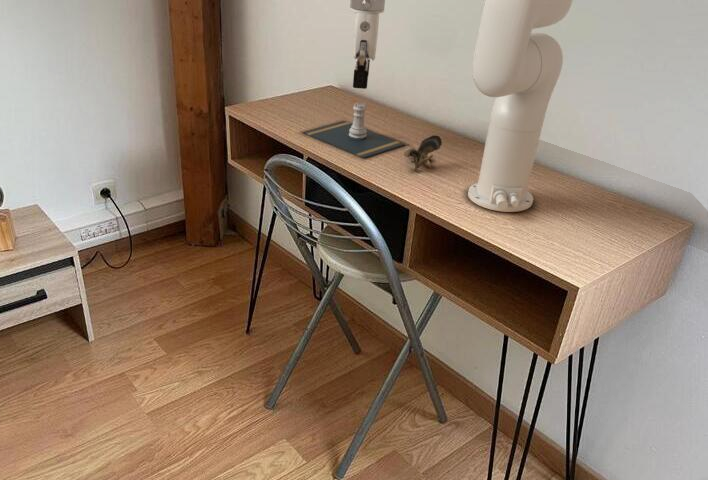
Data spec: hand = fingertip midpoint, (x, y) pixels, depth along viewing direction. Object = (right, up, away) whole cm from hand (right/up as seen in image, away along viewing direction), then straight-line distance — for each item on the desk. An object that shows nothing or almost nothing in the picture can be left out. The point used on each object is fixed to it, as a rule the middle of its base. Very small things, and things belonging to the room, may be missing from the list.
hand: (360, 82), depth 149 cm
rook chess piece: (0, -11, +7) cm, 13 cm away
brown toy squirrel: (+13, -21, -7) cm, 26 cm away
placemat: (-1, -12, +6) cm, 14 cm away
